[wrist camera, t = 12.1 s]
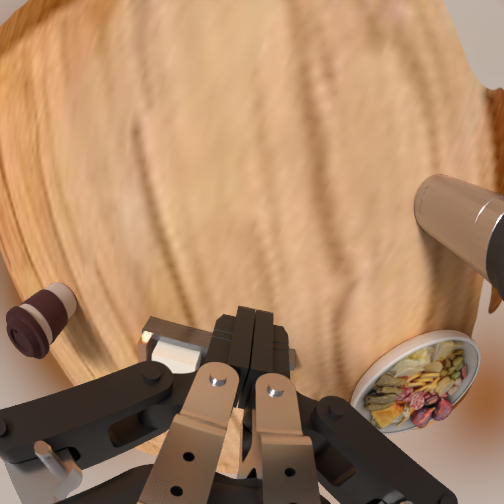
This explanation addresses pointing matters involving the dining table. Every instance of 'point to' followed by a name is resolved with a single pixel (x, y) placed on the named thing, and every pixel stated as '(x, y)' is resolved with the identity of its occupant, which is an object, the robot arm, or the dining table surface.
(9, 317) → the coffee cup
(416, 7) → the dining table surface
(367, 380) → the bowl
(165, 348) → the block
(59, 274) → the dining table surface
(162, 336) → the chute
